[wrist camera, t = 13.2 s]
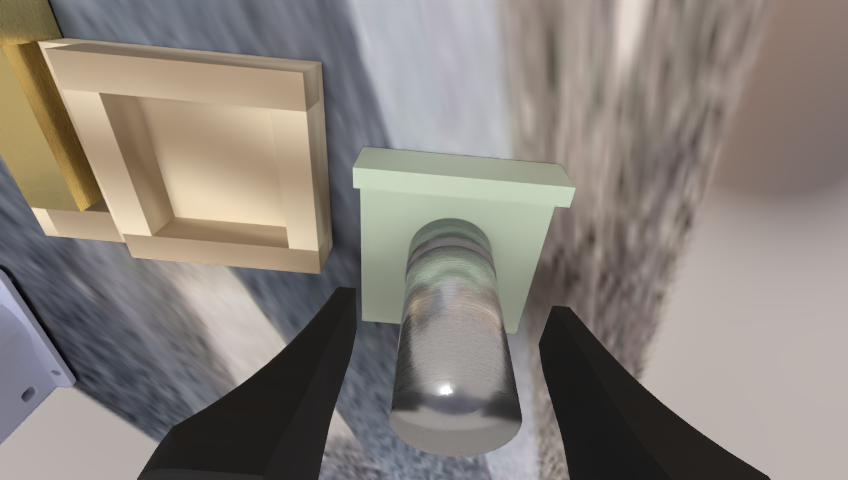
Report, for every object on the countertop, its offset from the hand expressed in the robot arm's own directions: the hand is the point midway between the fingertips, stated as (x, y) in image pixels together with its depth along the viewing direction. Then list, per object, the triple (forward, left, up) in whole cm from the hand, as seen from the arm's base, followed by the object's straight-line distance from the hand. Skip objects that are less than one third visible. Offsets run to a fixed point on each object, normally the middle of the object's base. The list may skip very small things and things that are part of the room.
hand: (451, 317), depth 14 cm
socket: (+4, +12, -5) cm, 13 cm away
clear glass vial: (0, 0, -4) cm, 4 cm away
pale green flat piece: (0, 0, -5) cm, 5 cm away
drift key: (+5, +16, -5) cm, 17 cm away
